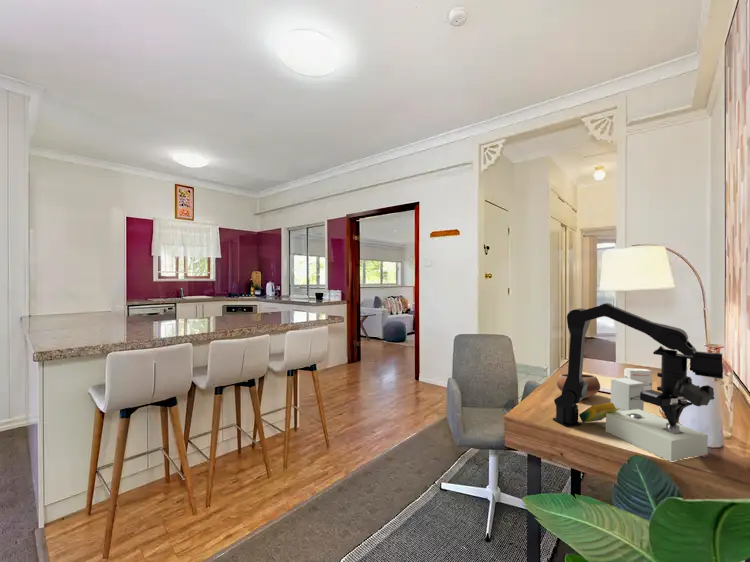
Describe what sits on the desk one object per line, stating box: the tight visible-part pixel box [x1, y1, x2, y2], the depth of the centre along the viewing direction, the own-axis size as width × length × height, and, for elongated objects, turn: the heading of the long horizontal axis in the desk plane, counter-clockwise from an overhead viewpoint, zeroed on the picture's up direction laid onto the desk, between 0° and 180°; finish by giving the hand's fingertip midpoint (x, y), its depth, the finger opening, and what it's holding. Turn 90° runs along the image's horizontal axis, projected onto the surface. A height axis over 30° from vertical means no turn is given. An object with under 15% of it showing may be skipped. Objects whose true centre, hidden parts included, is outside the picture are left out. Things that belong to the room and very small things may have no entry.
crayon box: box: [578, 402, 620, 424], centre depth 120 cm, size 7×3×12 cm
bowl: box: [556, 373, 601, 399], centre depth 149 cm, size 16×16×10 cm
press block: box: [605, 409, 709, 461], centre depth 109 cm, size 14×20×6 cm
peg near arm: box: [630, 413, 642, 419], centre depth 114 cm, size 3×3×6 cm
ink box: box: [623, 367, 653, 390], centre depth 149 cm, size 9×5×12 cm, turn 84°
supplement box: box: [610, 377, 645, 412], centre depth 130 cm, size 7×7×13 cm
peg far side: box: [666, 423, 680, 434], centre depth 103 cm, size 3×3×6 cm
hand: (672, 424), depth 103 cm, fingers closed, pressing on peg far side
